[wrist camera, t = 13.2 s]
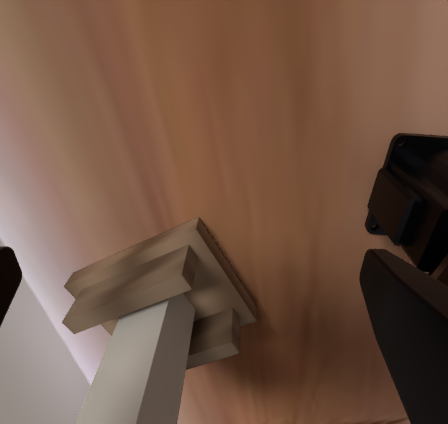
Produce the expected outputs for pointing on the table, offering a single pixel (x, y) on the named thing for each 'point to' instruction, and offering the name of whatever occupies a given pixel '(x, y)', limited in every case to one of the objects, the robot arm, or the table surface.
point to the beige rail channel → (167, 289)
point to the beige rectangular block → (143, 367)
